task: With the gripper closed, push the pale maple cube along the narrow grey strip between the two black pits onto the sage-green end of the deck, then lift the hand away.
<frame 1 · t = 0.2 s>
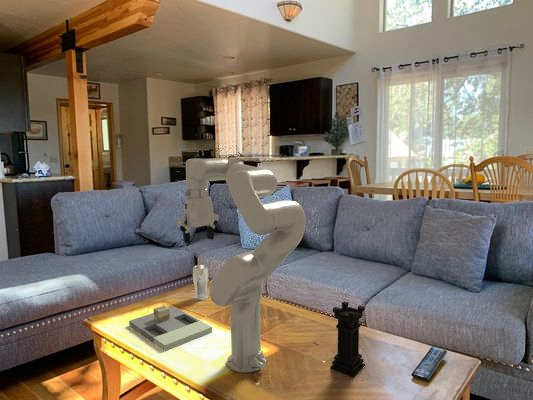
hand: (199, 241, 146), 37 cm above the table, tool pointing down, fingers open, 9 cm apart
chess piece: (347, 368, 129), on the table
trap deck: (169, 328, 159), on the table
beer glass: (201, 298, 190), on the table
maple cube: (161, 319, 163), point 2 cm above the table, touching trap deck
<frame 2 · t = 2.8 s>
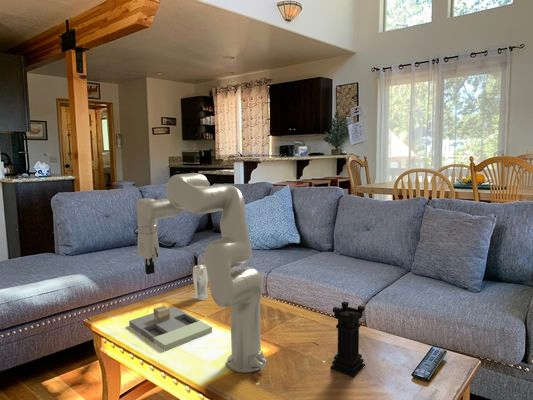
hand: (150, 273, 166), 19 cm above the table, tool pointing down, fingers closed
nothing on the table moved.
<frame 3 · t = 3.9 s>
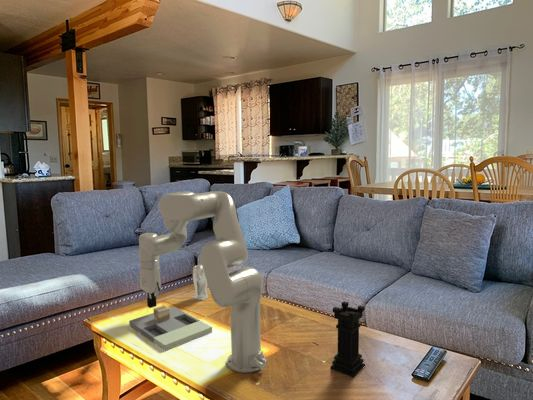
hand: (152, 306, 168), 5 cm above the table, tool pointing down, fingers closed
nothing on the table moved.
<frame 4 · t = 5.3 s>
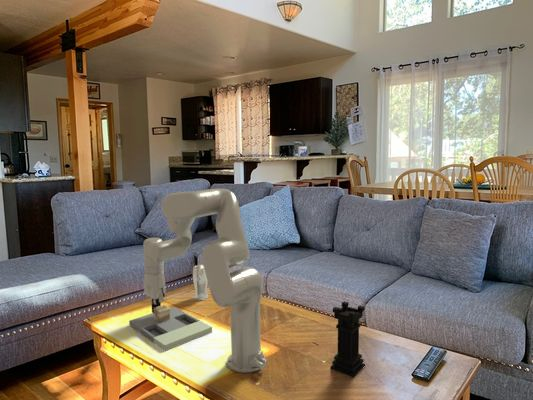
hand: (156, 312, 165), 4 cm above the table, tool pointing down, fingers closed
maple cube: (161, 318, 163), point 2 cm above the table, touching gripper, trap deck
everything else where it was.
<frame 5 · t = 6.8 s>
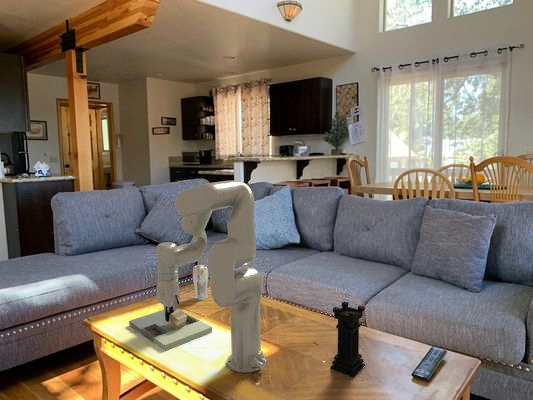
hand: (170, 320, 158), 4 cm above the table, tool pointing down, fingers closed
maple cube: (176, 324, 156), point 3 cm above the table, tilted 20°, touching gripper
everything else where it was.
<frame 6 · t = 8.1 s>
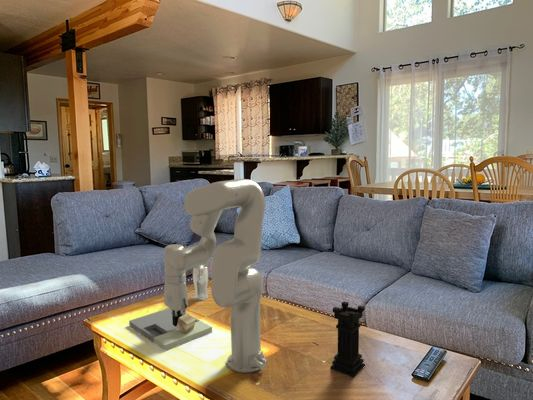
hand: (177, 324, 154), 4 cm above the table, tool pointing down, fingers closed
maple cube: (184, 328, 152), point 3 cm above the table, tilted 20°, touching gripper, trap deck
everything else where it was.
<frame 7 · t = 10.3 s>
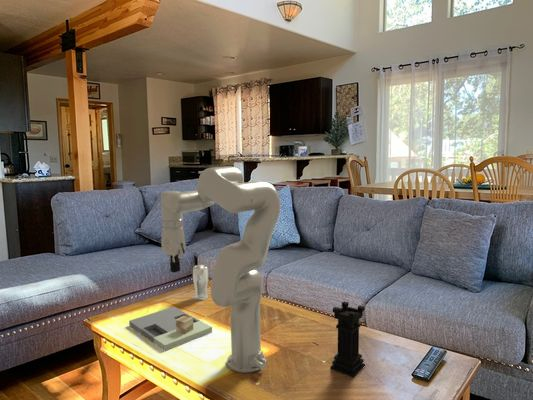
hand: (175, 271, 155), 23 cm above the table, tool pointing down, fingers closed
maple cube: (184, 330, 153), point 2 cm above the table, touching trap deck
everything else where it was.
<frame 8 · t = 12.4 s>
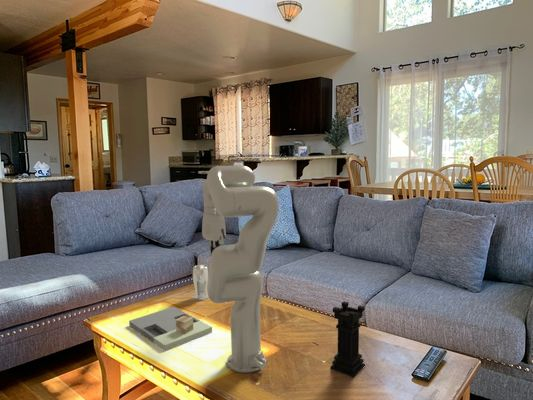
hand: (215, 256, 161), 27 cm above the table, tool pointing down, fingers closed
nothing on the table moved.
at the end: maple cube inside the target area (1.3 cm from its centre), point 2.0 cm above the table; maple cube tilted 0°; maple cube moved 15.1 cm from its start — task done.
